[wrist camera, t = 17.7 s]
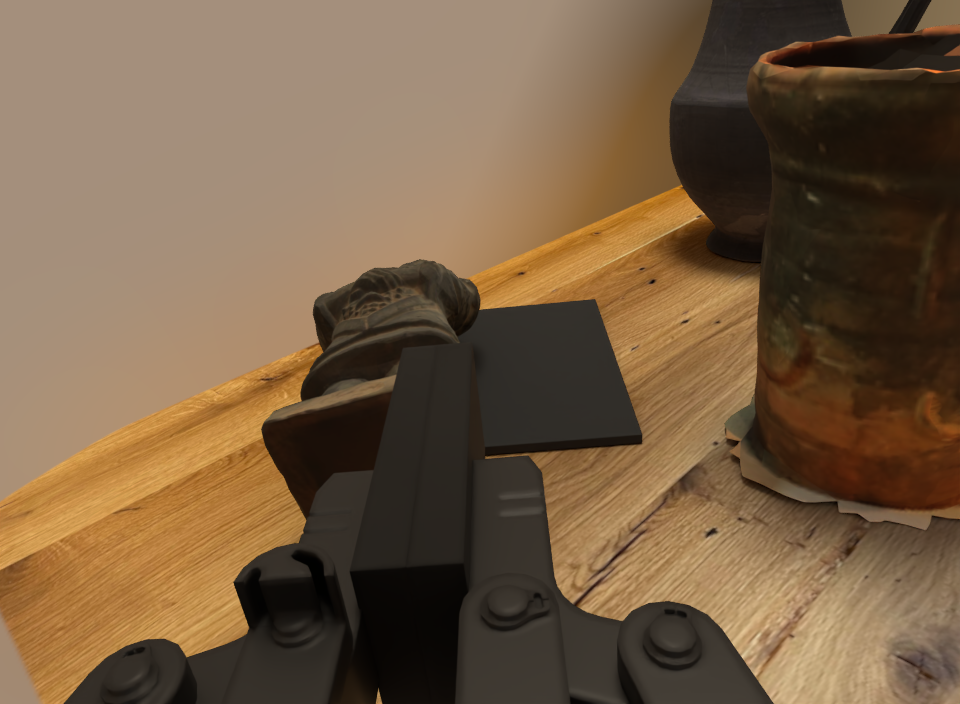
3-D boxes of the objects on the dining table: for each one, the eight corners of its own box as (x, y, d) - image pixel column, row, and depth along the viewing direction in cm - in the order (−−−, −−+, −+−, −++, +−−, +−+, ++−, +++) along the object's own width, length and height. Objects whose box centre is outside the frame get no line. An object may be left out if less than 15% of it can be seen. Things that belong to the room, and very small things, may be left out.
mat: (642, 443, 40) (642, 434, 39) (399, 462, 41) (397, 453, 40) (595, 305, 58) (595, 298, 57) (427, 320, 58) (426, 314, 58)
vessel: (1009, 598, 28) (1182, 53, 19) (678, 475, 37) (689, 68, 28) (1059, 429, 37) (1192, 8, 28) (784, 364, 46) (818, 30, 37)
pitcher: (676, 218, 76) (684, -108, 63) (894, 218, 69) (955, -150, 56) (656, 276, 62) (660, -130, 48) (929, 283, 55) (1021, -191, 41)
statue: (197, 422, 30) (327, 229, 57) (296, 576, 34) (374, 327, 61) (438, 339, 29) (454, 181, 56) (513, 511, 32) (494, 285, 59)
